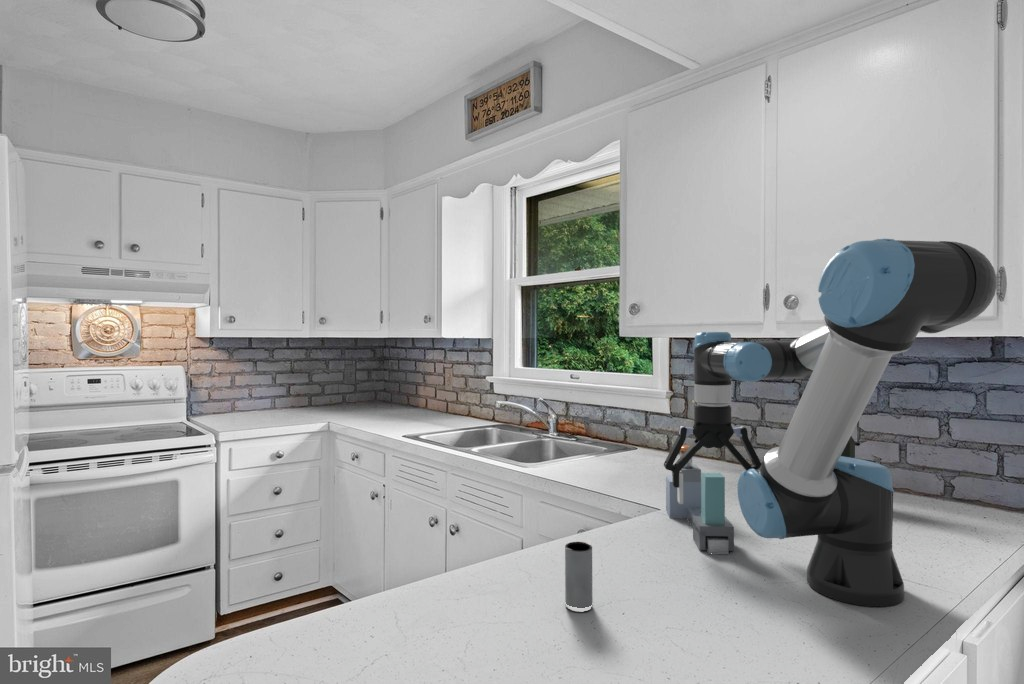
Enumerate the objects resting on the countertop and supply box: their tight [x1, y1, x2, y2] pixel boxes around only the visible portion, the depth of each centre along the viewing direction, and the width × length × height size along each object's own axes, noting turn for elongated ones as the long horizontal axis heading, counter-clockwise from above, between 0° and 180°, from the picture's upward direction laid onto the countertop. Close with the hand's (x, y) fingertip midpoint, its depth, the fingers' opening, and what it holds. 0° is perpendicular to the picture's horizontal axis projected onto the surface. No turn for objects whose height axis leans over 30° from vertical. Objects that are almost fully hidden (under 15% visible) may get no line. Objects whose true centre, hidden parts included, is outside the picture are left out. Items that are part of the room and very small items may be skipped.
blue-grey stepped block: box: [665, 463, 702, 519], centre depth 153 cm, size 6×9×12 cm, turn 85°
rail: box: [686, 507, 730, 555], centre depth 137 cm, size 23×4×3 cm, turn 175°
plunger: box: [679, 444, 693, 469], centre depth 152 cm, size 4×4×8 cm
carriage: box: [692, 472, 735, 552], centre depth 131 cm, size 7×7×15 cm
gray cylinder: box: [564, 541, 594, 608], centre depth 102 cm, size 4×4×10 cm
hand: (712, 503), depth 131 cm, fingers open, 13 cm apart
